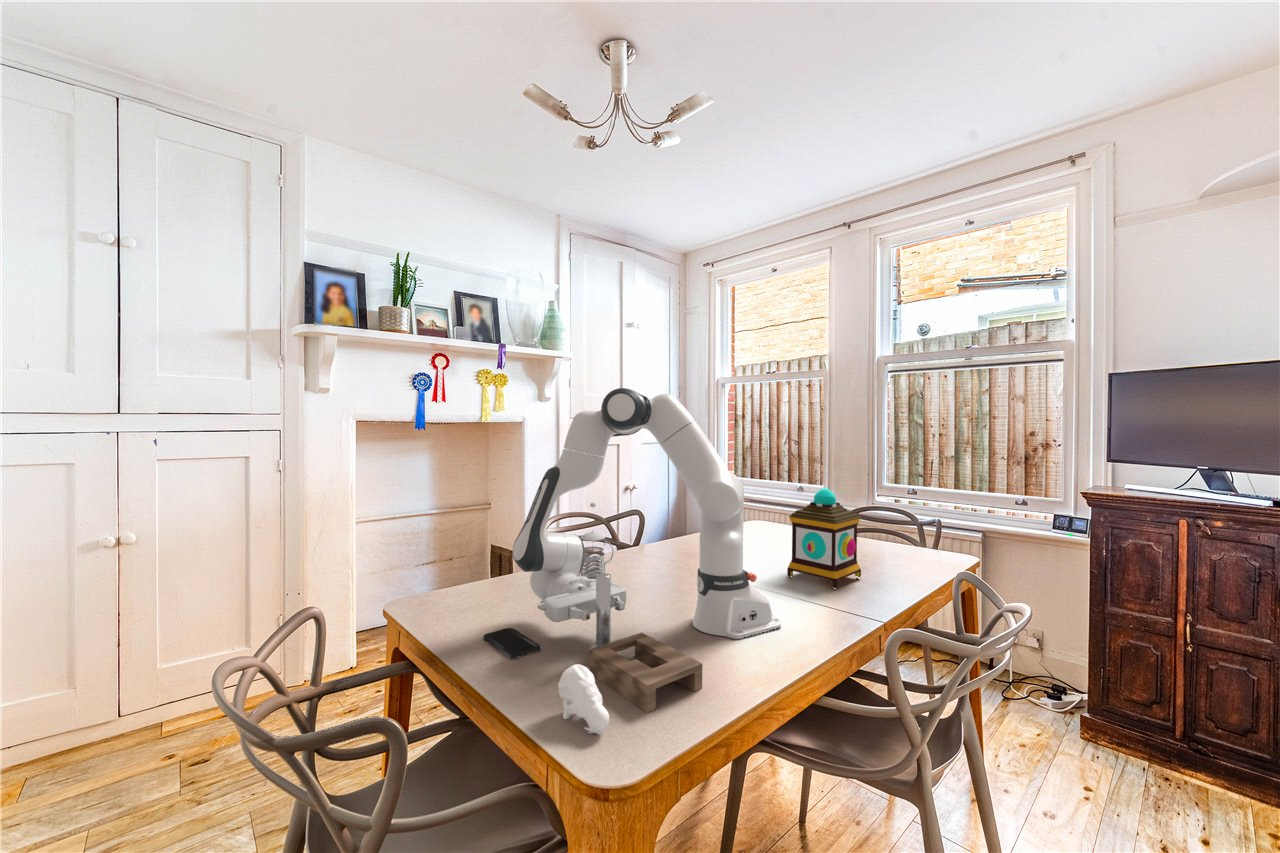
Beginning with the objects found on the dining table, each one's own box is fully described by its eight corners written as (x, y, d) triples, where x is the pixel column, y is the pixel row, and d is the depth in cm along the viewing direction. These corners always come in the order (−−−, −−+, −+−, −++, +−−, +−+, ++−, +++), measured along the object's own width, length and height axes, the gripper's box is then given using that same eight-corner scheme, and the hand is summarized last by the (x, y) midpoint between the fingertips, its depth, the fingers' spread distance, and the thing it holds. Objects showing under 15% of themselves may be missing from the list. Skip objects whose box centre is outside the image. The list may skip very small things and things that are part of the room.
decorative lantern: (781, 577, 178) (781, 487, 177) (811, 566, 192) (812, 482, 191) (838, 592, 163) (839, 494, 163) (867, 579, 177) (868, 488, 176)
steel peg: (611, 648, 123) (612, 570, 123) (618, 658, 118) (619, 577, 118) (588, 651, 122) (588, 572, 121) (594, 662, 116) (594, 580, 116)
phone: (511, 627, 134) (542, 646, 122) (511, 631, 134) (542, 651, 122) (481, 635, 129) (510, 656, 117) (481, 640, 129) (510, 661, 117)
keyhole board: (589, 672, 112) (589, 649, 111) (641, 654, 120) (641, 632, 120) (647, 712, 97) (647, 685, 97) (702, 688, 106) (702, 663, 105)
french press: (577, 574, 180) (578, 500, 180) (612, 573, 182) (612, 500, 181) (577, 583, 171) (577, 505, 170) (614, 582, 172) (614, 505, 171)
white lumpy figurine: (586, 656, 100) (621, 689, 90) (584, 699, 101) (618, 736, 91) (555, 665, 96) (589, 700, 87) (553, 709, 97) (586, 749, 87)
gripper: (533, 591, 123) (564, 608, 113) (606, 574, 136) (640, 588, 125) (533, 618, 124) (564, 637, 113) (606, 599, 136) (640, 615, 126)
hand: (605, 611), depth 119 cm, fingers open, 8 cm apart
